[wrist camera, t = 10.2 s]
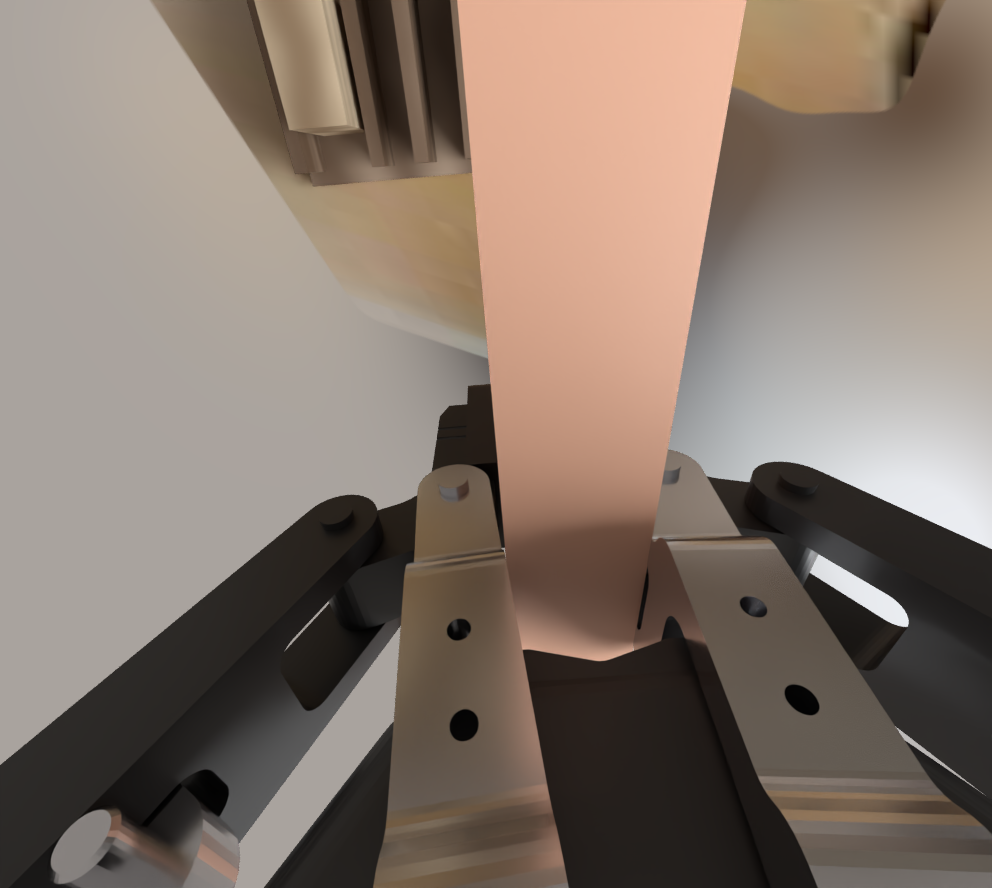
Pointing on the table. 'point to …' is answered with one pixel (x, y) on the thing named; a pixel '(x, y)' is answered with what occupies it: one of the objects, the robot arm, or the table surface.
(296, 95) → the offcut stack
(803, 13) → the table surface
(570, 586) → the terracotta board
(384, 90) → the walnut rack
